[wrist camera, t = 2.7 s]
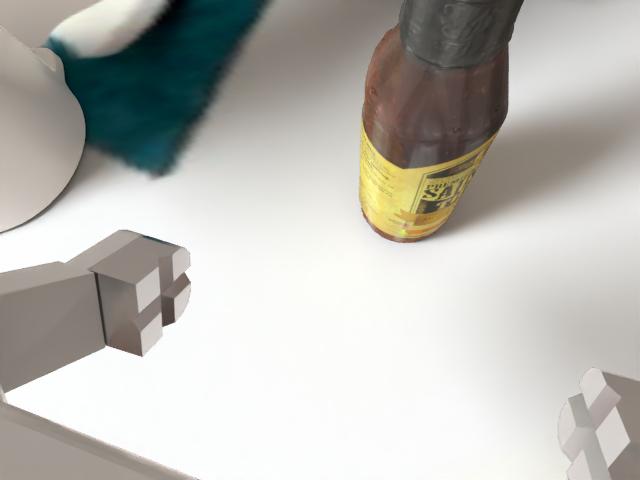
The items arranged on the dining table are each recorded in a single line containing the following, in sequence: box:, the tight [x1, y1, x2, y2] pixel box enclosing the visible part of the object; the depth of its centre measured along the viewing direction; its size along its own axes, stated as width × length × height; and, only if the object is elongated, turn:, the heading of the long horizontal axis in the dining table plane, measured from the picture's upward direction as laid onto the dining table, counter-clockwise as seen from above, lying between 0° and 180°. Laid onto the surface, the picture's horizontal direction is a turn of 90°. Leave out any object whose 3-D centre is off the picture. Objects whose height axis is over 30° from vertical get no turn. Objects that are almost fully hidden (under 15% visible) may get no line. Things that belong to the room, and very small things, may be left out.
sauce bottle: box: [359, 0, 524, 243], centre depth 20 cm, size 7×6×20 cm
